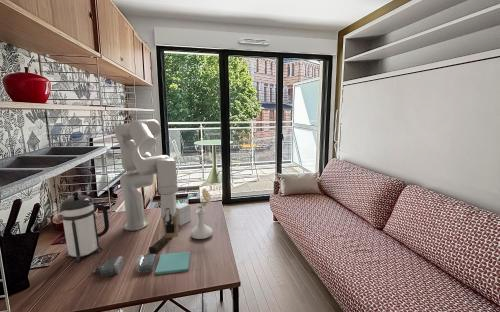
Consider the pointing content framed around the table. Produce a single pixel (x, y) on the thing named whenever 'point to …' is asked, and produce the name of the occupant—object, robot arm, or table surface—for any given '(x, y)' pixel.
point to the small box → (183, 213)
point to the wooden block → (175, 221)
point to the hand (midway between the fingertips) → (171, 229)
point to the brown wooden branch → (158, 245)
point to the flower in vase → (202, 229)
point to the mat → (173, 262)
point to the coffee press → (81, 225)
